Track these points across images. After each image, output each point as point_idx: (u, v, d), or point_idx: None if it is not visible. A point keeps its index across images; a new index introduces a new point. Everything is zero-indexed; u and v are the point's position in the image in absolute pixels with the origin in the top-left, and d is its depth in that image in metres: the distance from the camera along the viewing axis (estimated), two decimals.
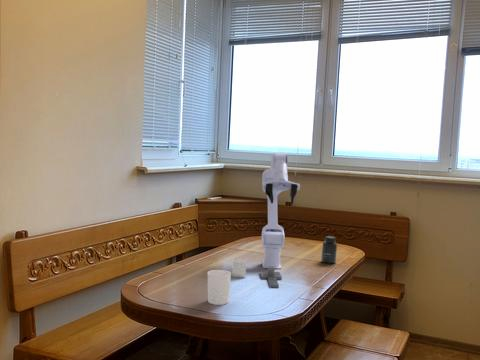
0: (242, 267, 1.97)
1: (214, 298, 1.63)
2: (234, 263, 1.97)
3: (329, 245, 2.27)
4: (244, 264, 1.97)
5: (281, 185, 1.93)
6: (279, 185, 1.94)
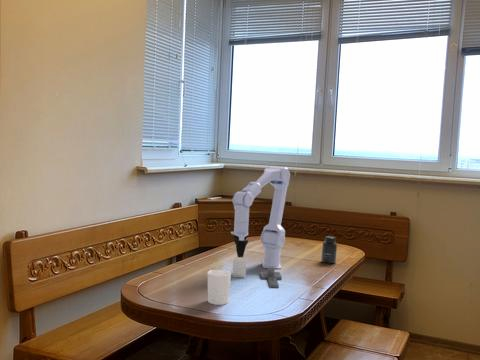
0: (242, 267, 1.97)
1: (214, 298, 1.63)
2: (234, 263, 1.97)
3: (328, 245, 2.27)
4: (244, 264, 1.97)
5: None
6: None
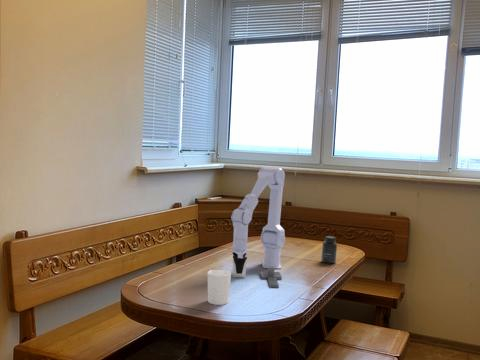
0: None
1: (214, 298, 1.63)
2: (234, 263, 1.97)
3: (329, 245, 2.27)
4: (244, 264, 1.97)
5: None
6: None
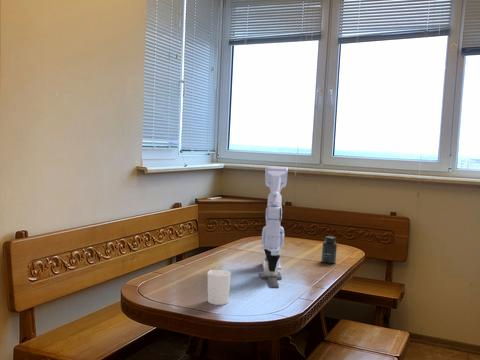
0: None
1: (214, 298, 1.63)
2: (266, 261, 1.97)
3: (328, 245, 2.27)
4: None
5: None
6: None
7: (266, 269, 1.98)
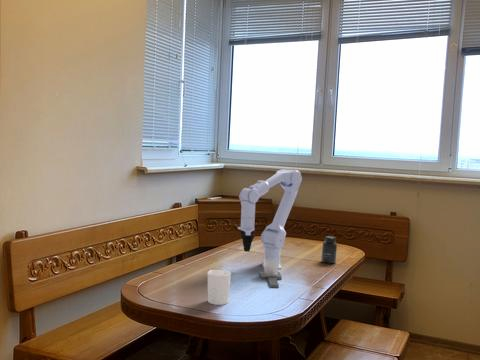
0: (274, 265, 1.98)
1: (214, 298, 1.63)
2: (266, 261, 1.98)
3: (328, 245, 2.27)
4: (276, 262, 1.98)
5: None
6: None
7: (266, 269, 1.98)
